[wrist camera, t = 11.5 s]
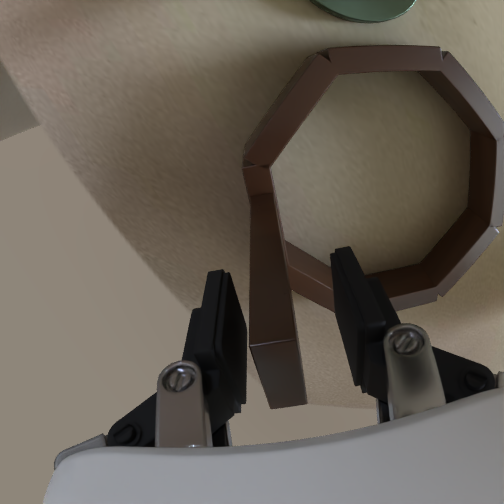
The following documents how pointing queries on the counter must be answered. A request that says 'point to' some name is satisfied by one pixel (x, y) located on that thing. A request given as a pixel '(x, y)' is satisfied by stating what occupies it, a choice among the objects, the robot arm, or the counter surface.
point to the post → (365, 9)
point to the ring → (314, 271)
